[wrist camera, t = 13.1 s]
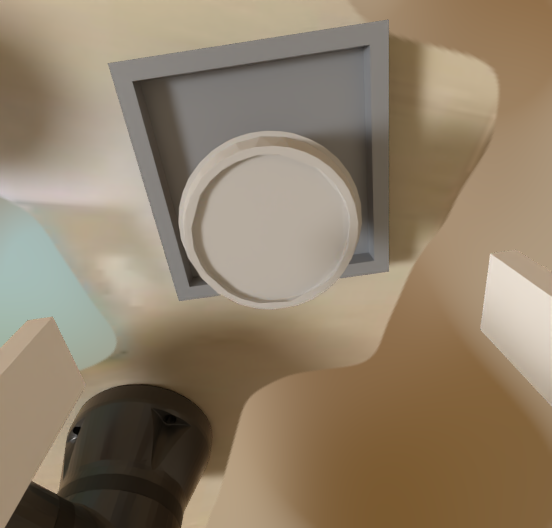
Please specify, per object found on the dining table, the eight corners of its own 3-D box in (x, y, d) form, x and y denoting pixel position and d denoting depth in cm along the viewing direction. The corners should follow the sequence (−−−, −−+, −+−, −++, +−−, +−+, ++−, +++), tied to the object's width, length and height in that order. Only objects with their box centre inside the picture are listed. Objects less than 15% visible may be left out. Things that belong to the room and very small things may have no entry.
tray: (380, 258, 33) (388, 271, 31) (184, 286, 34) (178, 301, 31) (377, 25, 25) (388, 19, 23) (121, 65, 26) (107, 63, 23)
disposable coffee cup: (213, 238, 31) (187, 321, 20) (199, 116, 27) (157, 138, 16) (326, 233, 31) (361, 312, 20) (329, 111, 27) (376, 129, 16)
